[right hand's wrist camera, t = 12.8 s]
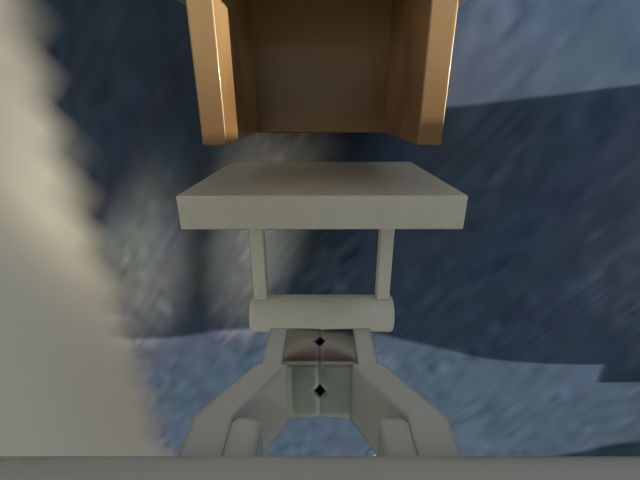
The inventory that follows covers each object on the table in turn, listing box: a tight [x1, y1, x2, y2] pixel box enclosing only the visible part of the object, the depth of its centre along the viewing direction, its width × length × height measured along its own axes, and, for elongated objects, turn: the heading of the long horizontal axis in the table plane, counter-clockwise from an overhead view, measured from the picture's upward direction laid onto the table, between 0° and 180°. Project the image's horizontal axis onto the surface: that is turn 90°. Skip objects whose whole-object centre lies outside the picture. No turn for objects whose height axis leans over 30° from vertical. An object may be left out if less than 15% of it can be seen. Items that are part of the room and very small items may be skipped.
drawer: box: [176, 0, 468, 332], centre depth 13 cm, size 26×10×8 cm, turn 0°
